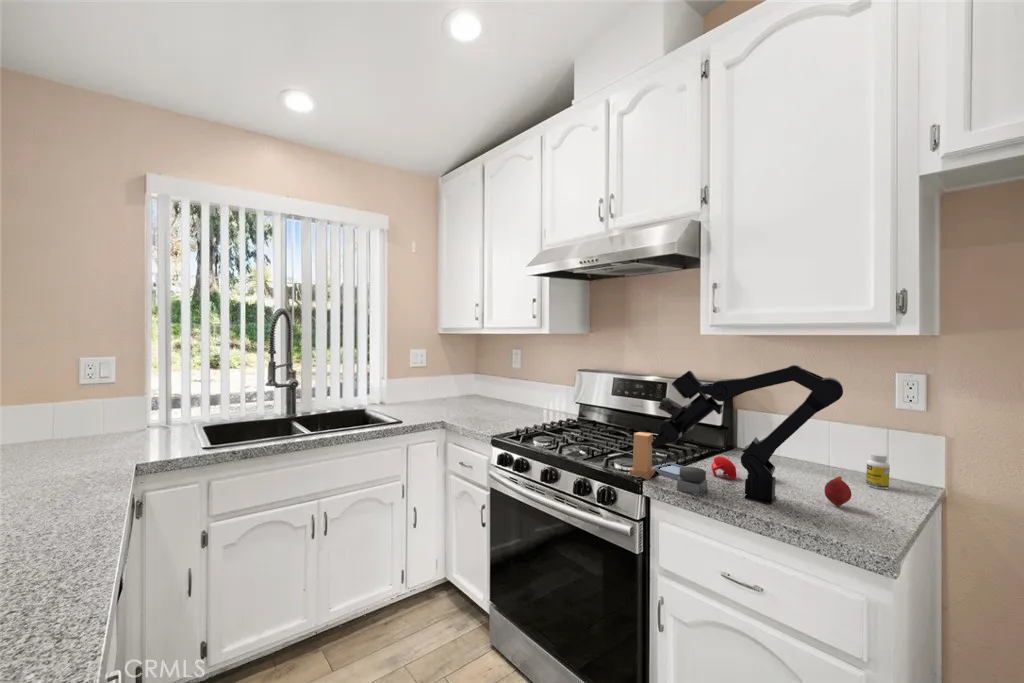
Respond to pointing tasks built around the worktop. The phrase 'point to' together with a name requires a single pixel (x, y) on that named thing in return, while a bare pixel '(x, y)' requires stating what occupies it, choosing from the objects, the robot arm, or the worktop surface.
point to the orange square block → (642, 456)
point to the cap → (724, 467)
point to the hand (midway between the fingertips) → (656, 442)
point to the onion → (837, 491)
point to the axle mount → (691, 486)
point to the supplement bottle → (878, 471)
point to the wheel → (692, 474)
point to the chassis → (669, 470)
